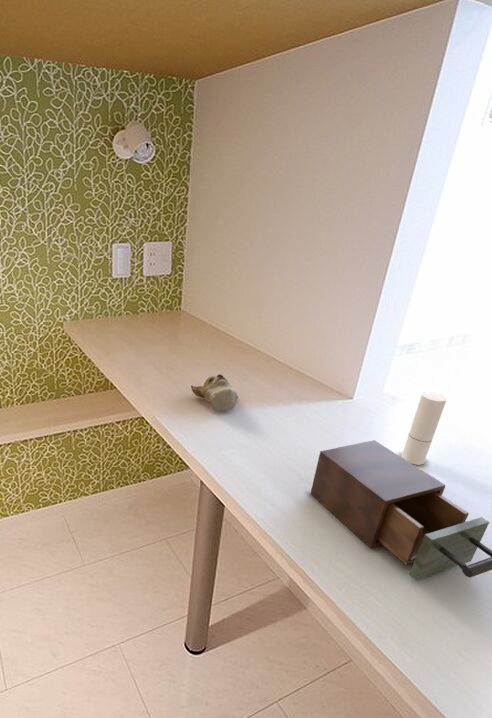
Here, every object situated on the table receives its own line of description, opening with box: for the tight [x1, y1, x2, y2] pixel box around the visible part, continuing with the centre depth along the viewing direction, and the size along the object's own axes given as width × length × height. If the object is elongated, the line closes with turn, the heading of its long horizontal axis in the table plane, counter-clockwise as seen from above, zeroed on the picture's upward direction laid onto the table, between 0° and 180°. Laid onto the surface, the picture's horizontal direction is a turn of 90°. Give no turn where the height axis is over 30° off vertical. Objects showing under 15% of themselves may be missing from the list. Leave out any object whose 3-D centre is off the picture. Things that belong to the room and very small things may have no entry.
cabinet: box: [310, 439, 446, 549], centre depth 76 cm, size 15×13×10 cm
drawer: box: [377, 492, 492, 581], centre depth 67 cm, size 18×11×8 cm, turn 20°
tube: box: [401, 391, 448, 466], centre depth 90 cm, size 4×4×15 cm
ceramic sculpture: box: [190, 374, 239, 413], centre depth 115 cm, size 11×9×15 cm
